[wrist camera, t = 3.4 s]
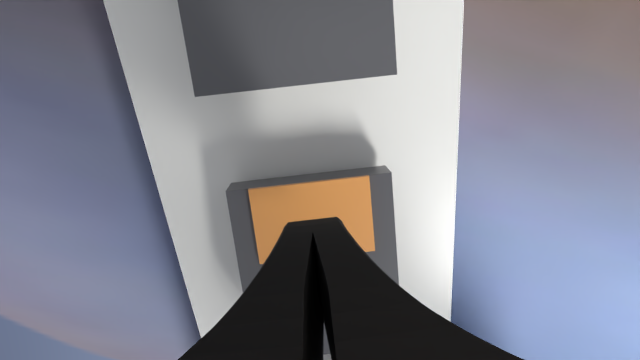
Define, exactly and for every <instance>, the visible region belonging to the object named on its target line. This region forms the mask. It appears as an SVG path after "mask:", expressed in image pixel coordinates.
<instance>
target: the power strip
mask: <svg viewBox="0 0 640 360" xmlns="http://www.w3.org/2000/svg"><path fill="white" fill-rule="evenodd" d="M103 1H104V5H105V8H106V12H107V15H108V19H109V22H110V26H111V29H112V33H113V36H114V39H115V43H116V46H117V50H118V53H119V57H120V60H121V64H122V67H123V70H124V74H125V77H126V81H127V84H128V88H129V91H130V95H131V98H132V102H133V105H134V108H135V112H136V115H137V119H138V122H139V126H140V129H141V133H142V136H143V139H144V143H145V146H146V150H147V153H148V157H149V160H150V164H151V167H152V171H153V174H154V177H155V181H156V184H157V188H158V191H159V195H160V198H161V202H162V205H163V208H164V212H165V215H166V219H167V222H168V226H169V229H170V233H171V236H172V240H173V243H174V246H175V250H176V253H177V257H178V260H179V264H180V267H181V271H182V274H183V277H184V281H185V284H186V288H187V291H188V295H189V298H190V302H191V305H192V309H193V312H194V315H195V319H196V322H197V326H198V329H199V333H200V336H201V338H202V337H203V336H204V335H205V334H206V333H208V332H209V331H210V330H211V329H212V328H213V327H214V326H215V325H216V324H217V323H218V322H219V320H220V319H221V318H222V317H223V316H224V315H225V314H226V313H227V312H228V310H229V309H230V308H231V307H232V306H233V305H234V303H235V302H236V301H237V300H238V299H239V297H240V296H241V295H242V294H243V291H242V285H241V279H240V273H239V268H238V262H237V256H236V250H235V244H234V238H233V232H232V227H231V221H230V215H229V209H228V203H227V197H226V190H227V188H228V187H229V185H230V184H231V183H233V182H242V181H251V180H260V179H269V178H278V177H286V176H295V175H304V174H313V173H322V172H331V171H339V170H348V169H357V168H366V167H375V166H383V165H385V166H386V167H387V168H388V169H389V170H390V171H391V172H392V186H393V201H394V217H395V232H396V247H397V262H398V277H399V286H401V287H402V288H403V289H404V290H405V291H407V292H408V293H409V294H410V295H412V296H413V297H414V298H416V299H417V300H418V301H419V302H421V303H422V304H424V305H425V306H426V307H428V308H429V309H431V310H432V311H434V312H435V313H437V314H439V315H440V316H442V317H444V318H445V319H447V320H448V321H450V322H451V300H452V276H453V252H454V228H455V204H456V180H457V156H458V132H459V108H460V84H461V60H462V36H463V12H464V0H393V11H394V28H395V45H396V62H397V75H388V76H379V77H370V78H361V79H352V80H343V81H334V82H325V83H316V84H307V85H298V86H289V87H280V88H271V89H262V90H253V91H244V92H235V93H226V94H217V95H208V96H199V97H195V96H194V90H193V84H192V79H191V73H190V68H189V62H188V57H187V51H186V45H185V40H184V34H183V29H182V23H181V18H180V12H179V6H178V1H177V0H103ZM323 360H332V359H331V355H330V354H325V355H323Z"/></svg>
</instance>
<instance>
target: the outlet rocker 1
mask: <svg viewBox="0 0 640 360" xmlns="http://www.w3.org/2000/svg"><path fill="white" fill-rule="evenodd" d="M177 1H178V6H179V12H180V18H181V23H182V29H183V34H184V40H185V45H186V51H187V57H188V62H189V68H190V73H191V79H192V84H193V90H194V96H195V97H199V96H208V95H217V94H226V93H235V92H244V91H253V90H262V89H271V88H280V87H289V86H298V85H307V84H316V83H325V82H334V81H343V80H352V79H361V78H370V77H379V76H388V75H397V62H396V45H395V28H394V11H393V0H177Z"/></svg>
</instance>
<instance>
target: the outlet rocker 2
mask: <svg viewBox="0 0 640 360" xmlns="http://www.w3.org/2000/svg"><path fill="white" fill-rule="evenodd" d="M226 197H227V203H228V209H229V215H230V221H231V227H232V232H233V238H234V244H235V250H236V256H237V262H238V268H239V273H240V279H241V285H242V291H243V292H244V291H245V289H246V288H247V287H248V285H249V284H250V283H251V281H252V280H253V279H254V277H255V276H256V274H257V273H258V272H259V270H260V269H261V267H262V265H263V264H264V262H265V261H266V259H267V257H268V256H269V254H270V253H271V251H272V249H273V248H274V246H275V244H276V242H277V240H278V239H279V237H280V235H281V233H282V231H283V228H284V226H285V225H286V224H287V223H288V222H294V221H303V220H312V219H321V218H329V217H338V218H339V219H340V220H342V222H343V224H344V226H345V227H346V229H347V230H348V232H349V233H350V234H351V236H352V237H353V238H354V239H355V241H356V242H357V243H358V244H359V246H360V247H361V248H362V249H363V250H364V251H365V252H366V253H367V255H368V256H369V257H370V258H371V259H372V260H373V261H374V262H375V263H376V264H377V265H378V266H379V267H380V268H381V269H382V270H383V271H384V272H385V273H386V274H387V275H388V276H389V277H390V278H391V279H392V280H394V281H395V282H396V283H397V284H398V285H399V277H398V262H397V247H396V232H395V217H394V201H393V186H392V172H391V171H390V170H389V169H388V168H387V167H386V166H385V165H383V166H375V167H366V168H357V169H348V170H339V171H331V172H322V173H313V174H304V175H295V176H286V177H278V178H269V179H260V180H251V181H242V182H233V183H231V184H230V185H229V187H228V188H227V190H226ZM325 354H330V350H329V345H328V340H327V335H326V330H325V324H324V354H323V355H325Z"/></svg>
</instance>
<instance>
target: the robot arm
mask: <svg viewBox="0 0 640 360" xmlns="http://www.w3.org/2000/svg"><path fill="white" fill-rule="evenodd" d="M324 324H325V330H326V335H327V340H328V345H329V350H330V355H331V359H332V360H524V359H521V358H519V357H517V356H514V355H512V354H510V353H508V352H506V351H504V350H502V349H500V348H498V347H496V346H494V345H492V344H490V343H488V342H486V341H484V340H482V339H480V338H478V337H476V336H474V335H472V334H471V333H469V332H467V331H465V330H463V329H462V328H460V327H458V326H457V325H455V324H453V323H452V322H450V321H448V320H447V319H445V318H444V317H442V316H440V315H439V314H437V313H435V312H434V311H432V310H431V309H429V308H428V307H426V306H425V305H424V304H422V303H421V302H419V301H418V300H417V299H416V298H414V297H413V296H412V295H410V294H409V293H408V292H407V291H405V290H404V289H403V288H402V287H401V286H399V285H398V284H397V283H396V282H395V281H394V280H392V279H391V278H390V277H389V276H388V275H387V274H386V273H385V272H384V271H383V270H382V269H381V268H380V267H379V266H378V265H377V264H376V263H375V262H374V261H373V260H372V259H371V258H370V257H369V256H368V255H367V253H366V252H365V251H364V250H363V249H362V248H361V247H360V246H359V244H358V243H357V242H356V241H355V239H354V238H353V237H352V236H351V234H350V233H349V232H348V230H347V229H346V227H345V226H344V224H343V222H342V220H340V219H339V218H338V217H329V218H321V219H312V220H303V221H294V222H288V223H287V224H286V225H285V226H284V228H283V231H282V233H281V235H280V237H279V239H278V240H277V242H276V244H275V246H274V248H273V249H272V251H271V253H270V254H269V256H268V257H267V259H266V261H265V262H264V264H263V265H262V267H261V269H260V270H259V272H258V273H257V274H256V276H255V277H254V279H253V280H252V281H251V283H250V284H249V285H248V287H247V288H246V289H245V291H244V292H243V294H242V295H241V296H240V297H239V299H238V300H237V301H236V302H235V303H234V305H233V306H232V307H231V308H230V309H229V310H228V312H227V313H226V314H225V315H224V316H223V317H222V318H221V319H220V320H219V322H218V323H217V324H216V325H215V326H214V327H213V328H212V329H211V330H210V331H209V332H208V333H206V334H205V335H204V336H203V337H202V338H201V339H200V340H199V341H198V342H197V343H196V344H195V345H194V346H192V347H191V348H190V349H189V350H188V351H187V352H186V353H185V354H184V355H183V356H181V357H180V358H179V359H178V360H323V354H324Z"/></svg>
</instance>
